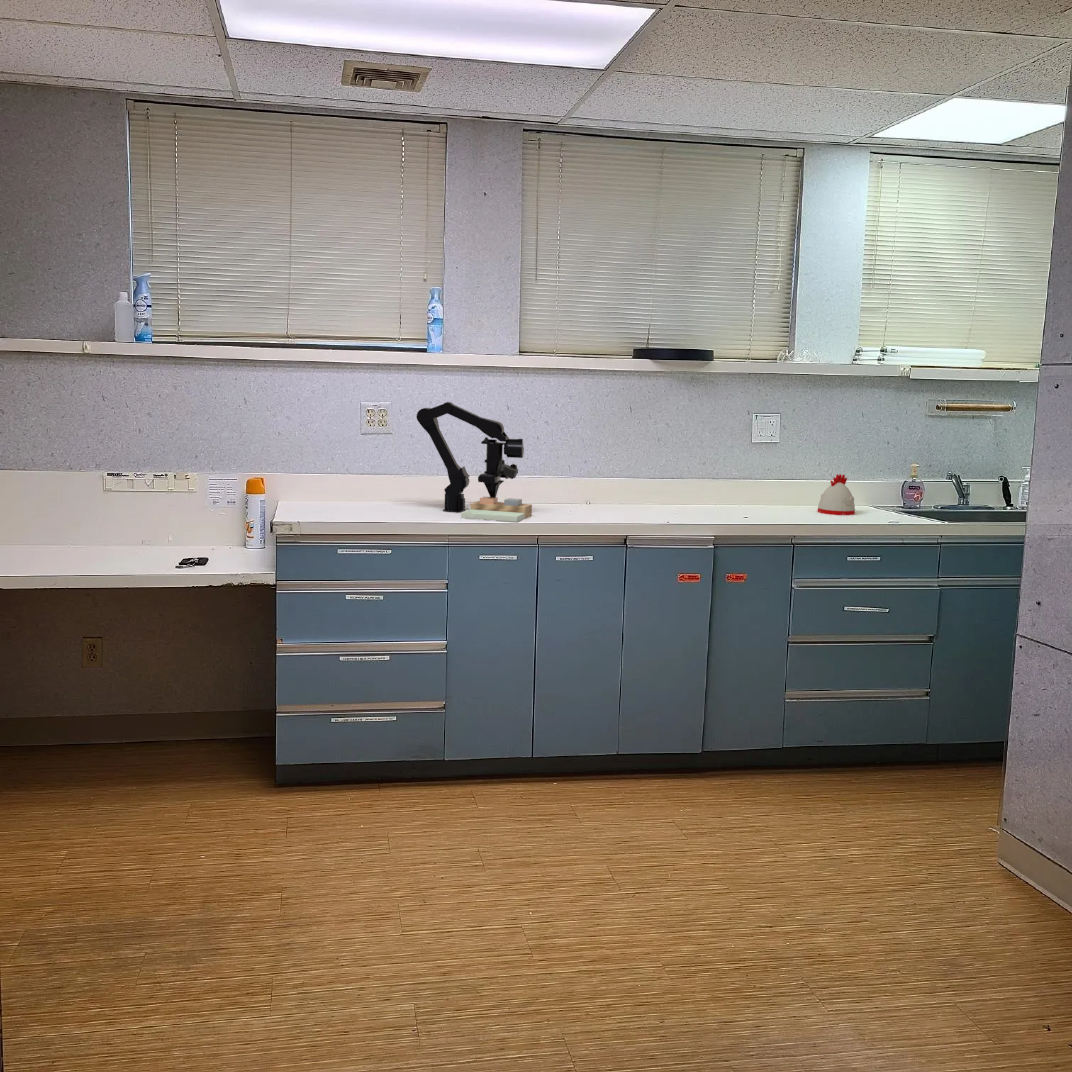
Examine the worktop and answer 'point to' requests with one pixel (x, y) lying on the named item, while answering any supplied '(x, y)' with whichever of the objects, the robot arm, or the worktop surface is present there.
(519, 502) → the slate tile
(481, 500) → the terracotta tile
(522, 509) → the oak board
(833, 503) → the kitchen timer
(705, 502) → the worktop surface
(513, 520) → the tray
